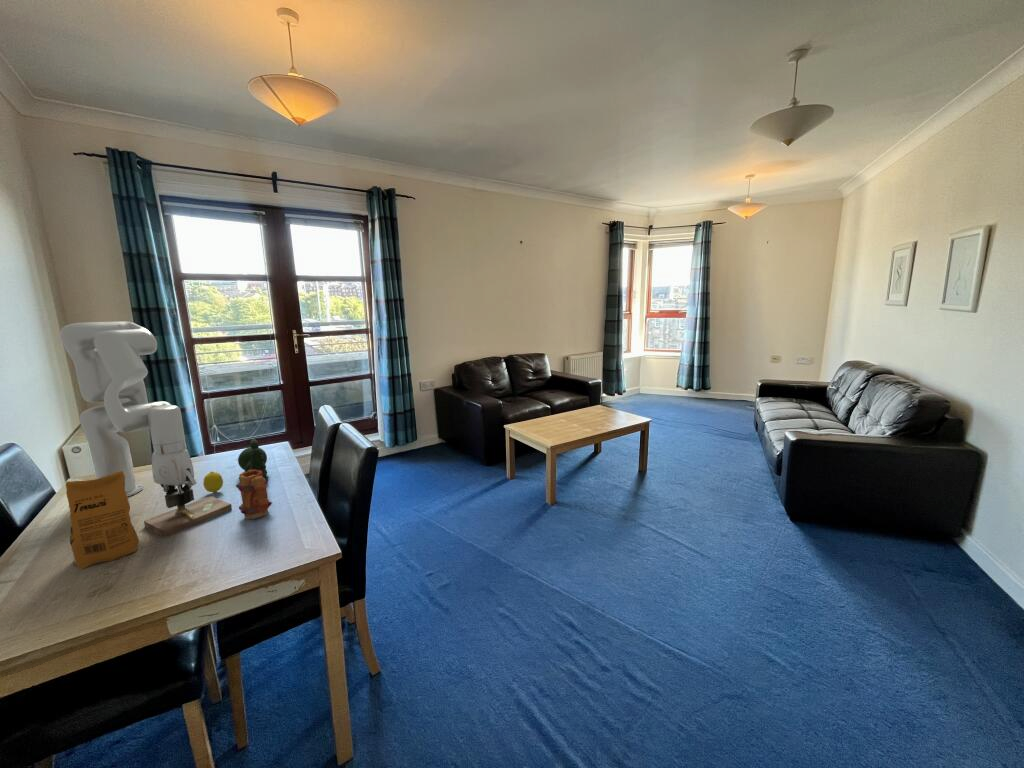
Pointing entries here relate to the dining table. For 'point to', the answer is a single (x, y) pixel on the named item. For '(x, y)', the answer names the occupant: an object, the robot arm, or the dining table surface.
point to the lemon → (213, 482)
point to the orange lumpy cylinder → (253, 494)
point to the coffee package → (100, 520)
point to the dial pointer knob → (173, 501)
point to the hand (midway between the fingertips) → (179, 502)
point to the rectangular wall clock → (180, 521)
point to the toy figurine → (253, 458)
